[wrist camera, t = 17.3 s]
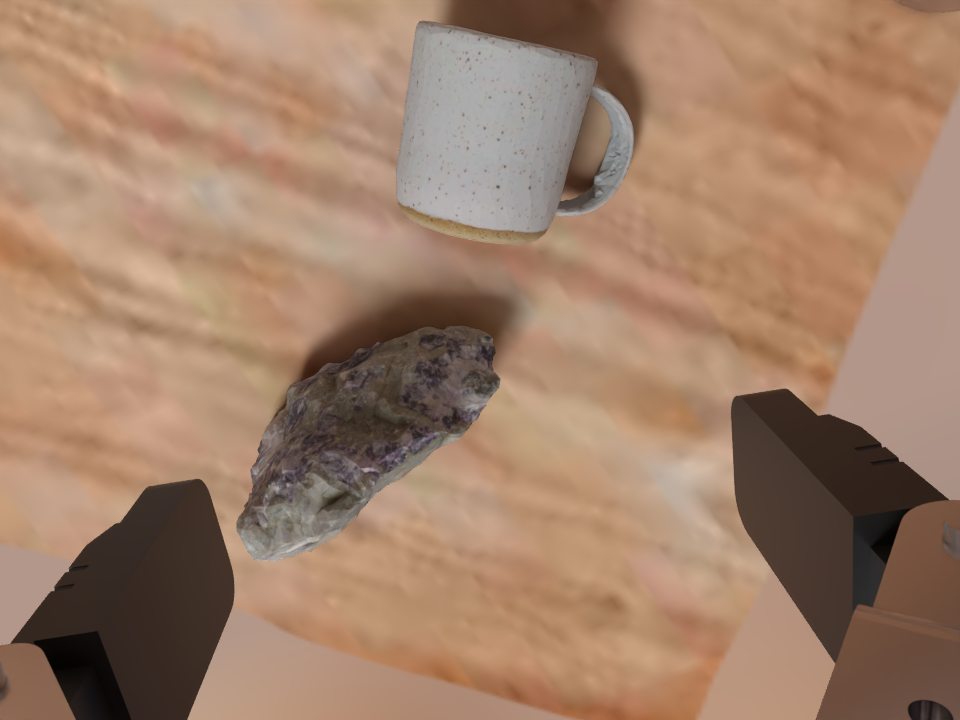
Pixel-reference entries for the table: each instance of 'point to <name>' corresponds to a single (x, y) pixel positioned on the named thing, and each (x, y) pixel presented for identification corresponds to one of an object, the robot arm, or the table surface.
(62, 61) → the table surface
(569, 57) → the ceramic mug
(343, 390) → the mineral rock
